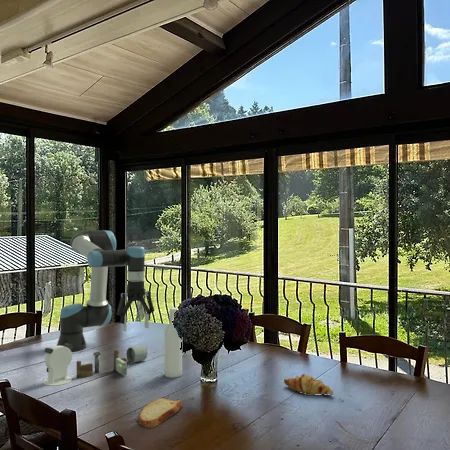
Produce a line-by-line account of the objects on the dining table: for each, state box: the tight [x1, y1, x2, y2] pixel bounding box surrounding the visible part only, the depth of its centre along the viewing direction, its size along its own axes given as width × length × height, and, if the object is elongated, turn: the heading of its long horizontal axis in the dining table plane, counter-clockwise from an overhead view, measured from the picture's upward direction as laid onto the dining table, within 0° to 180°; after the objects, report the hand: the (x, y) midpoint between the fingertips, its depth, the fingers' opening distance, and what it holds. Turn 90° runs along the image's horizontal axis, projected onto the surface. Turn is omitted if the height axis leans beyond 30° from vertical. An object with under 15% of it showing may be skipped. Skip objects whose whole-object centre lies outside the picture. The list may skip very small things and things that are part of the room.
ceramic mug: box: [125, 345, 148, 364], centre depth 220 cm, size 11×8×8 cm
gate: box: [115, 357, 128, 376], centre depth 201 cm, size 8×2×6 cm, turn 35°
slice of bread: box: [138, 397, 183, 429], centre depth 159 cm, size 18×18×4 cm
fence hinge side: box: [113, 349, 127, 372], centre depth 206 cm, size 2×6×10 cm, turn 125°
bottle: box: [163, 307, 183, 379], centre depth 200 cm, size 8×8×30 cm
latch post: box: [93, 351, 101, 374], centre depth 202 cm, size 2×2×9 cm
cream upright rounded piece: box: [43, 343, 73, 387], centre depth 191 cm, size 12×11×15 cm
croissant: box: [283, 373, 334, 396], centre depth 181 cm, size 21×10×8 cm, turn 59°
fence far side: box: [76, 360, 94, 379], centre depth 197 cm, size 2×7×7 cm, turn 124°
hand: (135, 329), depth 202 cm, fingers open, 10 cm apart
